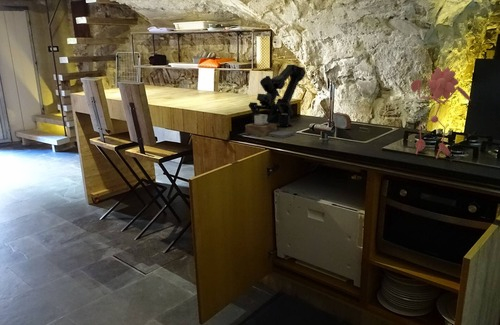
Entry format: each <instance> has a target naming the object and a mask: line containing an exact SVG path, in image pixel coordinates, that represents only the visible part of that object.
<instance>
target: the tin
mask: <svg viewBox="0 0 500 325" xmlns="http://www.w3.org/2000/svg"><path fill="white" fill-rule="evenodd" d="M332 114H333V119H334V122H335V127H334V128H336V129H341V130H349V129H350V128H351V127H352V119H351V117H350V115H349V114H346V113H343V112H339V111H338V112H334V113H332Z"/></svg>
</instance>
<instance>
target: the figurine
mask: <svg viewBox="0 0 500 325" xmlns="http://www.w3.org/2000/svg"><path fill="white" fill-rule="evenodd" d="M455 75H456V71H454V70H451V69H450V67H446V68H443V70H441V68H440V67H437V68H435V70H434V72H433V73H431V74H430V80H428V81H427V82H426V86H427V87H428V88H429V94H431V95H432V96H421V92H420V91H421V89H420V88H421V87H422V81H421V80H420V79H419V78H417V79H415V80H413V81H412V83H411V84H410V88H411V91H412V92H416V91H417V92H418V99H420V100H421V99H431V100H433V101H435V102H436V103H437V104H439V105H438V106H437V109H436V113H435V115H433V116H432V117H431V118H430V120H428V121H425V122H423V123H419V126H418V128H419V129H418V130H419V139H417V141H416V143H415V147H416V152H415V155H418V152H421V151H423V149H424V148H425V147H426V142H425V140H424V139H422V133H421V131H422V130H421V126H422V125H424V124H427V123H429V122H432V123H435V124H436V123H439V124H440V125H441V126H442V127H443V128H444V130H443V135H442V140H441V142H439V143H438V148H439V149H438V150H437V154H436V156H435V159H438V158H439V155H440V152H442V153H443V154H444V155H445V156H447V157H448V156H449V157H450V155H451V151H450V150H449V148H448V147H447V145H446V144H444V139H445V133H446V127H445V125H444V124H442V122H440V121H439V117H438V116H437V115H438V112H439V110H440V109H441V105H442V104H445V103H446V102H447V101H448V100H449V99H450V98H451V97H452V96H453V95H454V94H455V93H456V91H458V92H459V93H460V94H461V96H462V97H463V98H465V99H466V100H467V101H469V102H471V98H470V96H469V94H468V93H467V92H466V91H465V90H464V89H463V88H462V87H460V86H459V80H458V79H457V78H455ZM441 97H443V99H445V100H444V101H443V100H441V99H440V98H441ZM441 103H442V104H441ZM424 150H425V149H424ZM451 162H453V159H452V160H451Z"/></svg>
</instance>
